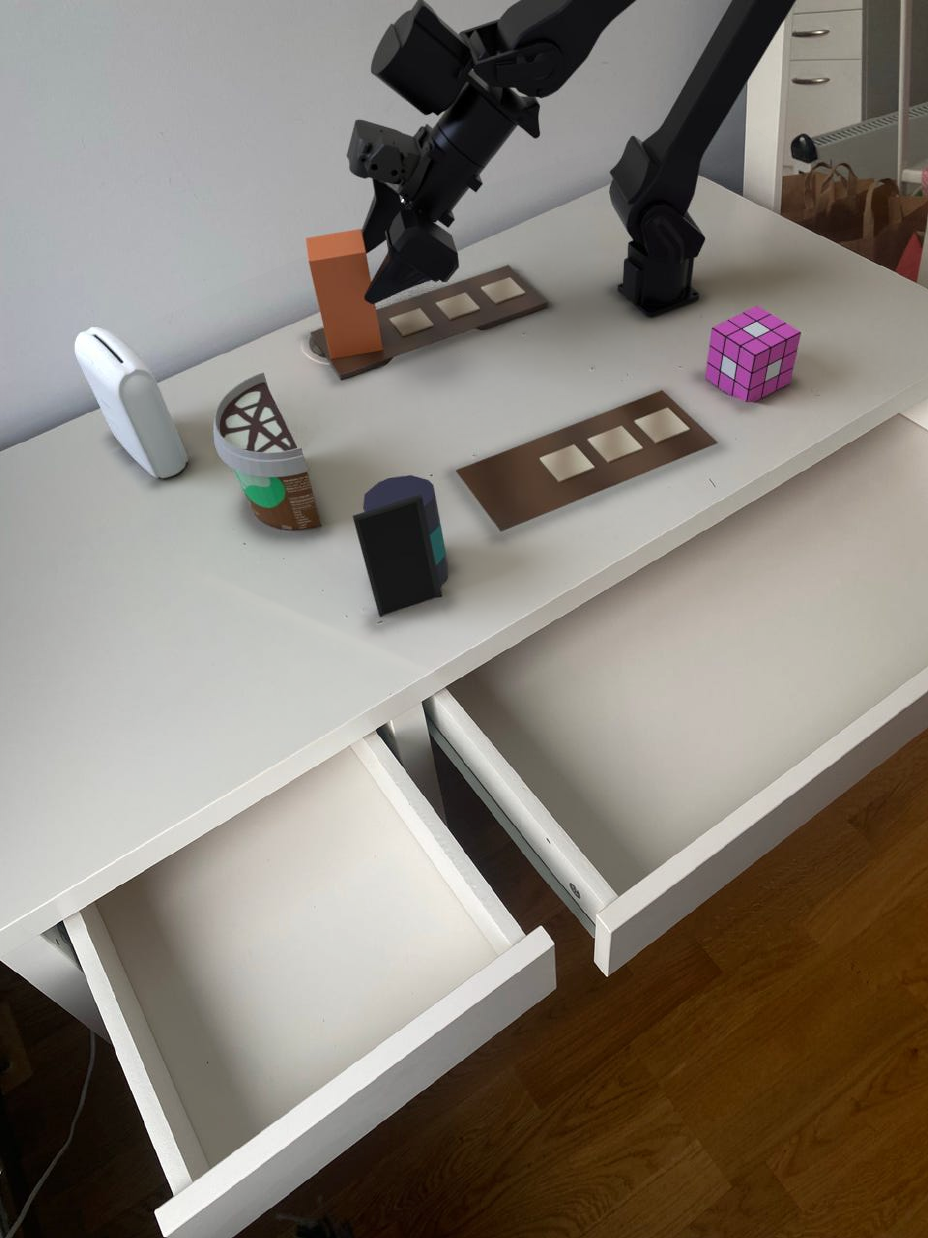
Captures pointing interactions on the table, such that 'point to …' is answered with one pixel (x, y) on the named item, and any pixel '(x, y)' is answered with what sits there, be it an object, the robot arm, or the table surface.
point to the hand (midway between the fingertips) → (363, 276)
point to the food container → (264, 457)
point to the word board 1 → (441, 317)
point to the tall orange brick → (344, 293)
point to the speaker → (402, 542)
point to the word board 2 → (583, 459)
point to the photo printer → (131, 401)
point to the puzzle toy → (752, 354)
